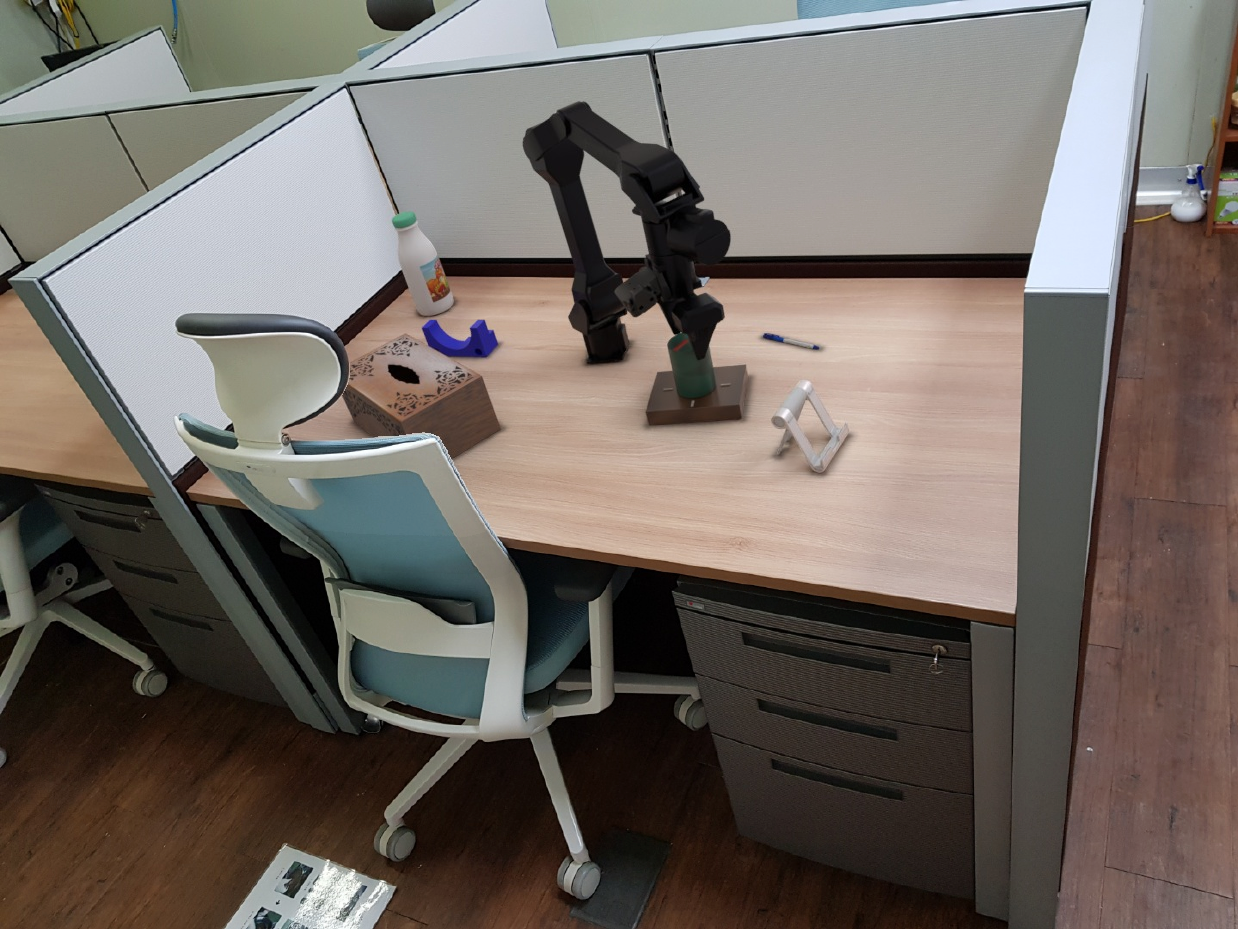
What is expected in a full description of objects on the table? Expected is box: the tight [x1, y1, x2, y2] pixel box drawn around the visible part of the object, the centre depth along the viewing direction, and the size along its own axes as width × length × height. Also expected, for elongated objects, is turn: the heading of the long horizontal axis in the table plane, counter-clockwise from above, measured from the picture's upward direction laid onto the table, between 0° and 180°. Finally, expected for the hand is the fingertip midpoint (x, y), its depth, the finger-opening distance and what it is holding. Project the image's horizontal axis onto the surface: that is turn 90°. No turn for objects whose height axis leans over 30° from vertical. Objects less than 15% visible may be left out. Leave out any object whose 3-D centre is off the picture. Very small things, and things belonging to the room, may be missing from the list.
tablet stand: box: [770, 379, 850, 474], centre depth 123 cm, size 9×8×8 cm
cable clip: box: [421, 319, 499, 358], centre depth 170 cm, size 12×4×6 cm, turn 68°
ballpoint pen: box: [762, 332, 820, 350], centre depth 148 cm, size 10×1×1 cm, turn 49°
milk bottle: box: [391, 210, 455, 317], centre depth 184 cm, size 8×8×20 cm
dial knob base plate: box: [645, 364, 749, 426], centre depth 140 cm, size 14×11×3 cm
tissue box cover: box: [341, 332, 502, 459], centre depth 150 cm, size 26×14×10 cm, turn 39°
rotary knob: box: [666, 333, 716, 398], centre depth 137 cm, size 6×6×8 cm
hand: (688, 346), depth 135 cm, fingers open, 9 cm apart
